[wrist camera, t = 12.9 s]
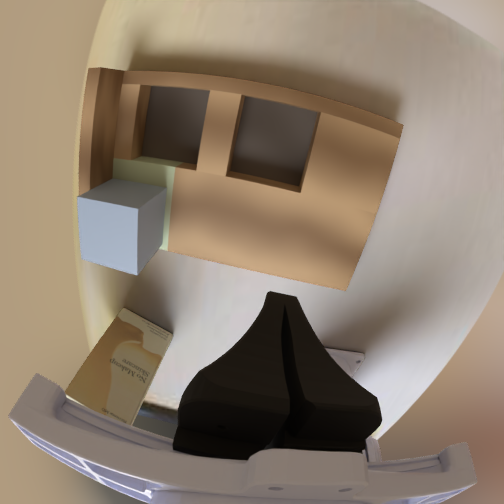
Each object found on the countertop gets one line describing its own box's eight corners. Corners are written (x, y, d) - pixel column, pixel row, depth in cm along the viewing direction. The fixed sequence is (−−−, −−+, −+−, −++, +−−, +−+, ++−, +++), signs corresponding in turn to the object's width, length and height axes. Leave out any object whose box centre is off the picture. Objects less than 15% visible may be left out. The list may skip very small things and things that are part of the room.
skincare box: (175, 333, 28) (133, 433, 17) (164, 355, 30) (126, 445, 19) (120, 304, 27) (61, 393, 17) (114, 328, 29) (64, 411, 19)
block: (162, 244, 21) (137, 275, 17) (112, 232, 21) (81, 259, 17) (166, 187, 19) (138, 208, 15) (112, 178, 19) (77, 196, 15)
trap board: (341, 277, 23) (352, 315, 19) (113, 225, 23) (82, 251, 19) (393, 123, 17) (423, 128, 13) (126, 73, 17) (88, 68, 13)
